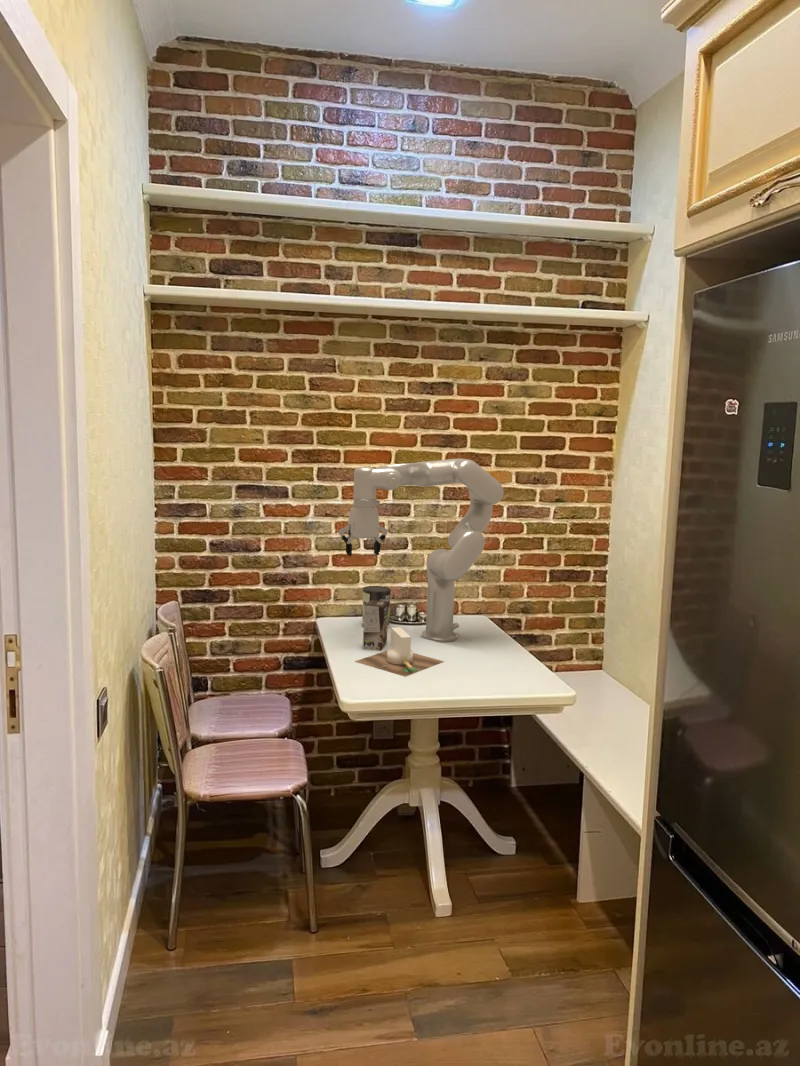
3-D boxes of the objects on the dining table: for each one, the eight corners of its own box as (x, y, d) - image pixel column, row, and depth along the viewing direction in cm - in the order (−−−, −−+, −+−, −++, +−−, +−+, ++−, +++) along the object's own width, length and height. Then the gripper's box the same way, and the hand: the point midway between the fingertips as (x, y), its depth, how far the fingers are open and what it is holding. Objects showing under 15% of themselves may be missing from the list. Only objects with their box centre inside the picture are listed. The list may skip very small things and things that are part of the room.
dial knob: (382, 655, 238) (383, 628, 237) (406, 654, 240) (407, 627, 239) (397, 672, 222) (399, 643, 221) (423, 671, 225) (424, 641, 223)
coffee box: (381, 655, 244) (383, 606, 242) (362, 653, 246) (363, 605, 243) (387, 647, 253) (389, 600, 251) (368, 645, 254) (370, 599, 252)
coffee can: (394, 625, 282) (396, 588, 280) (379, 630, 273) (380, 592, 271) (372, 620, 287) (373, 584, 285) (356, 625, 279) (357, 588, 277)
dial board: (394, 652, 248) (394, 647, 248) (444, 666, 236) (444, 660, 236) (354, 666, 233) (354, 660, 232) (405, 681, 220) (405, 676, 220)
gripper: (384, 502, 259) (383, 552, 261) (336, 503, 252) (335, 553, 255) (392, 505, 252) (390, 555, 254) (343, 505, 245) (341, 557, 248)
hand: (362, 554), depth 254 cm, fingers open, 9 cm apart
